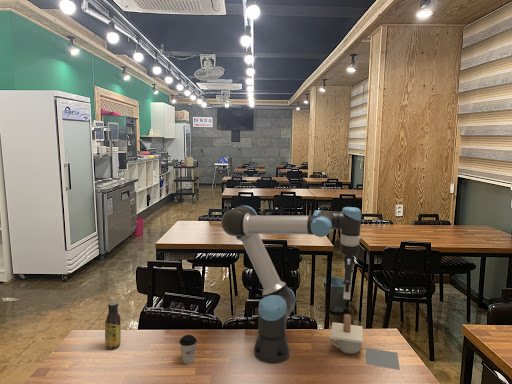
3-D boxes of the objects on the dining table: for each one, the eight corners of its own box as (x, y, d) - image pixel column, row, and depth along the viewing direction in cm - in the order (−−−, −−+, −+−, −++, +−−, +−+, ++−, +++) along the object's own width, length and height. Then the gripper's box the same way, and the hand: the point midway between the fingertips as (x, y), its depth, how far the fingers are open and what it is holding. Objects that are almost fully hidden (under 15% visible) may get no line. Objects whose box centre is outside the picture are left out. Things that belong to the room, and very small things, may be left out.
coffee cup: (176, 360, 150) (176, 337, 149) (191, 354, 155) (191, 331, 154) (184, 368, 145) (184, 344, 144) (200, 361, 150) (200, 338, 148)
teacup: (357, 343, 165) (358, 327, 164) (365, 357, 154) (366, 339, 153) (326, 344, 165) (327, 327, 164) (332, 357, 154) (333, 339, 153)
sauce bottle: (102, 349, 157) (100, 304, 155) (111, 341, 164) (109, 299, 161) (115, 351, 156) (114, 306, 154) (124, 344, 162) (123, 300, 160)
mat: (365, 364, 149) (365, 363, 149) (365, 348, 161) (365, 347, 161) (399, 370, 145) (399, 369, 145) (397, 353, 158) (397, 352, 158)
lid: (330, 338, 154) (330, 320, 153) (332, 324, 166) (333, 307, 166) (362, 343, 151) (363, 324, 150) (362, 328, 163) (363, 311, 162)
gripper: (358, 253, 141) (355, 305, 144) (359, 238, 165) (357, 283, 167) (338, 251, 143) (336, 303, 146) (342, 236, 167) (340, 281, 169)
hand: (347, 292), depth 156 cm, fingers open, 13 cm apart
